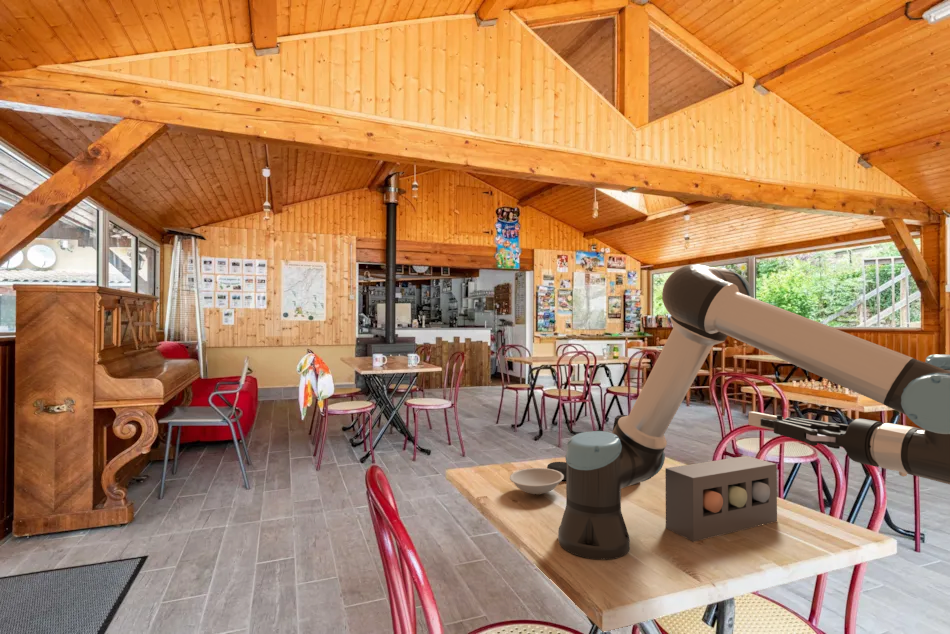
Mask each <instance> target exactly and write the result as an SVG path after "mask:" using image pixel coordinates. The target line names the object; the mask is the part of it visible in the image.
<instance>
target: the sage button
mask: <svg viewBox="0 0 950 634" xmlns="http://www.w3.org/2000/svg"><path fill="white" fill-rule="evenodd" d="M715 492H716V488H715ZM746 501H747V492H746V490H745V489H743V488H740V487H737V486H734V485H728V503H729V504H731V505H734V506H737V507H743V506H744V505H745V503H746Z"/></svg>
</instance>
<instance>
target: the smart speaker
mask: <svg viewBox="0 0 950 634" xmlns="http://www.w3.org/2000/svg"><path fill="white" fill-rule="evenodd" d="M546 468H547V469H553V470H556V471H559V472H561V473H562V474H563V475H564V479H563V480H566V461H554V462H550V463H548V464H547V467H546Z"/></svg>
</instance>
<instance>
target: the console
mask: <svg viewBox="0 0 950 634" xmlns="http://www.w3.org/2000/svg"><path fill="white" fill-rule="evenodd" d="M777 468H778V467H777V463H774V462H771V461H768V460H764V459H761V458H756V457H753V456H749V455H744V456H738V457H737V456H736V457H730V458H724V459H718V460H717V459H716V460H712V461H704V462H697V463H692V464H686V465H685V464H683V465H679V466H678V465H677V466H671V467H665V529H667V530H669V531H671V532H673V533H675V534H678V536H681V537H684V538H685V539H687V540H689V541H692V542H698V541H702V540H705V539H710V538H714V537H718V536H722V535H727V534H730V533H731V534H732V533H735V532H739V531H745V530H747V529H751V527H752V528H756V527H759V526H758V525H760V526H763V525H762V524H765V525H768V524H767V523H769V524H772V523H771V522H773V523H776V521H777V522H778V492H777V491H778V487H777V486H778V481H777V479H778V477H777V475H778V474H777V473H778V469H777ZM754 480H755V481H758V482H761V483H765V484H767V485H768V486H769V488H770V496H769V499H768V500H767V501H766V502H760V501H757V500H754V499H752V481H754ZM738 483H740V488H743V489H745V490H746V492H747V501H746V503H745V505H744V506H743V507H737V506H734V505H731V504H729V503H728V485H734V486H737V487H738ZM715 488H716V492H717V493H719V494H721V496H722V498H723V505H722V508H721V510H720V511H719V512H717V513H714V512H711V511H709V510H706V509H704V508H703V490H705V489H709V490H712V491H714V492H715ZM755 526H756V527H755Z"/></svg>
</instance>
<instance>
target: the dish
mask: <svg viewBox="0 0 950 634" xmlns="http://www.w3.org/2000/svg"><path fill="white" fill-rule="evenodd" d="M563 479H564V475H563V474H562V473H561V472H559V471H556V470H553V469H547V467H546V468H545V467H531V468H530V467H528V468H523V469H519V470H516V471H514V472H512V473H511V474H510V475H509V480H510V482H512V483H513V484H514V485H515V486H516V487H517V488H518V490H521V491H522V492H524V493H525V494H527V493H528V494H531V495H535V494H539V495H541V494H547V493H550V492H551V491H553V490H554V489H555V488H556V487H557V486H559V484H560V483H561V482H563V481H562V480H563Z"/></svg>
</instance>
